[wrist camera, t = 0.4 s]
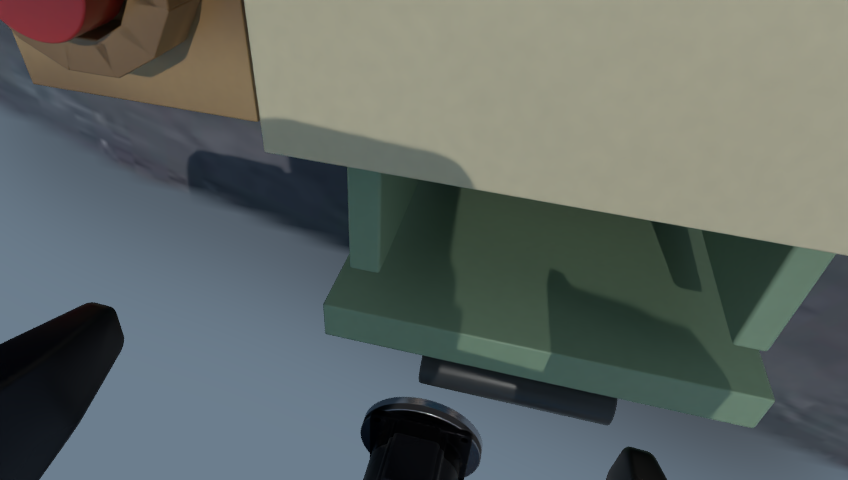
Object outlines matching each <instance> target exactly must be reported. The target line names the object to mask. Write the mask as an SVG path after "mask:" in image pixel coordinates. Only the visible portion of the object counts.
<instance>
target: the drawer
mask: <svg viewBox="0 0 848 480" xmlns="http://www.w3.org/2000/svg"><path fill="white" fill-rule="evenodd" d="M347 182H348V216H349V250H350V254H349V256H348V258H347V260H346V262H345V263H344V266H343V267H342V269H341V271H340V273H339V275H338V277H337V279H336V281H335V283H334V285H333V287H332V289H331V291H330V293H329V294H328V296H327V298H326V300H325V302H324V304H323V308H324V321H325V333H326V334H329V335H333V336H338V337H342V338H347V339H351V340H356V341H360V342H365V343H370V344H374V345H379V346H383V347H388V348H392V349H397V350H401V351H406V352H410V353H415V354H419V355H423V356H422V361H421V366H420V372H419V382H420V383H423V384H427V385H432V386H436V387H440V388H445V389H450V390H454V391H458V392H462V393H467V394H472V395H476V396H480V397H484V398H489V399H493V400H498V401H502V402H506V403H511V404H515V405H520V406H524V407H528V408H533V409H537V410H542V411H546V412H550V413H555V414H559V415H564V416H568V417H573V418H577V419H581V420H585V421H590V422H595V423H599V424H603V425H609V424H610V423H611V421H612V420H613V417H614V414H615V410H616V405H617V398H618V399H623V400H627V401H632V402H637V403H641V404H645V405H650V406H655V407H659V408H664V409H668V410H673V411H678V412H682V413H686V414H691V415H696V416H700V417H704V418H709V419H713V420H718V421H723V422H727V423H732V424H736V425H741V426H745V427H750V428H754V427H755V426H756V425H757V424H758V422H759V421H760V420H761V418H762V417H763V416H764V415H765V413H766V412H767V411H768V410H769V408H770V407H771V406H772V405H773V403H774V402H775V399H774V396H773V393H772V390H771V387H770V383H769V380H768V377H767V374H766V371H765V368H764V365H763V361H762V358H761V355H760V352H759V350H761V351H767V350H769V348H770V347H771V346H772V344H773V343H774V341H775V340H776V338H777V337H778V336H779V334H780V333H781V331H782V330H783V329H784V327H785V326H786V324H787V323H788V321H789V320H790V319H791V317H792V316H793V314H794V313H795V312H796V310H797V309H798V307H799V306H800V304H801V303H802V302H803V300H804V299H805V297H806V296H807V295H808V293H809V292H810V290H811V289H812V287H813V286H814V285H815V283H816V282H817V280H818V279H819V278H820V276H821V275H822V273H823V272H824V270H825V269H826V268H827V266H828V265H829V263H830V262H831V261H832V259H833V258H834V256H835V255H836V254H835V253H829V252H824V251H818V250H813V249H807V248H801V247H796V246H790V245H784V244H779V243H773V242H768V241H762V240H756V239H751V238H745V237H739V236H734V235H728V234H723V233H717V232H711V231H706V230H700V229H694V228H689V227H683V226H678V225H672V224H666V223H661V222H655V221H649V220H644V219H638V218H632V217H627V216H621V215H616V214H610V213H604V212H599V211H593V210H587V209H582V208H576V207H571V206H565V205H559V204H554V203H548V202H542V201H537V200H531V199H526V198H520V197H514V196H509V195H503V194H497V193H492V192H486V191H481V190H475V189H469V188H464V187H458V186H452V185H447V184H441V183H436V182H430V181H424V180H419V179H413V178H407V177H402V176H396V175H391V174H385V173H379V172H374V171H368V170H362V169H357V168H351V167H347Z"/></svg>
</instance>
